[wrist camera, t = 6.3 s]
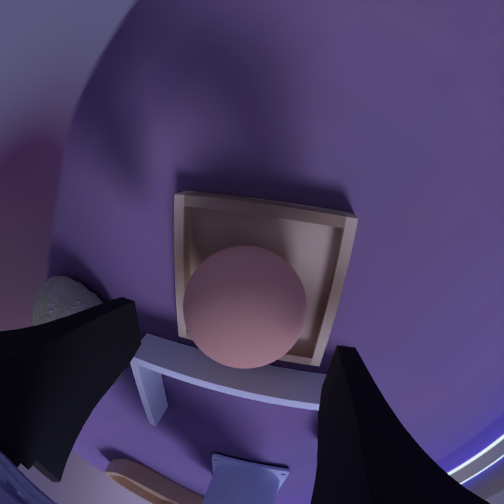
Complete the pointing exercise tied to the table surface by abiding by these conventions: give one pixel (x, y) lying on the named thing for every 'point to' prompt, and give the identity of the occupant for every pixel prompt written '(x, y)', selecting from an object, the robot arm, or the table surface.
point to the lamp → (149, 484)
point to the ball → (244, 307)
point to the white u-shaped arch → (217, 378)
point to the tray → (277, 241)
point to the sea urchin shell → (61, 300)
